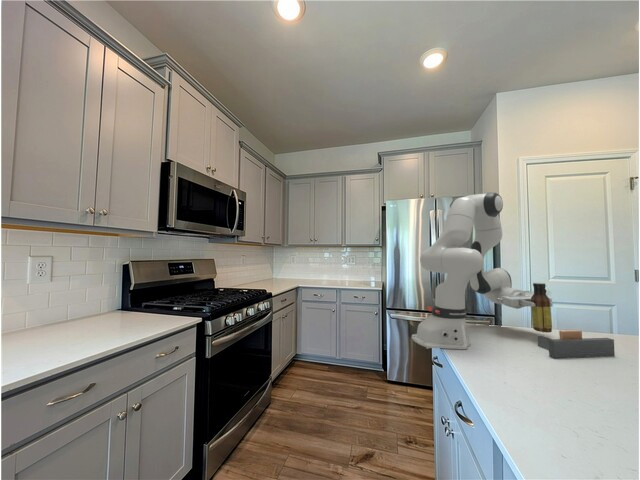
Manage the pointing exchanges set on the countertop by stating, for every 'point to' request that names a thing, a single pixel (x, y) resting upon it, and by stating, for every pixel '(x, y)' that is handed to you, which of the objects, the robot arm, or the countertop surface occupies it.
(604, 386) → the countertop surface
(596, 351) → the grey base block
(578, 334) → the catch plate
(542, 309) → the sauce bottle
